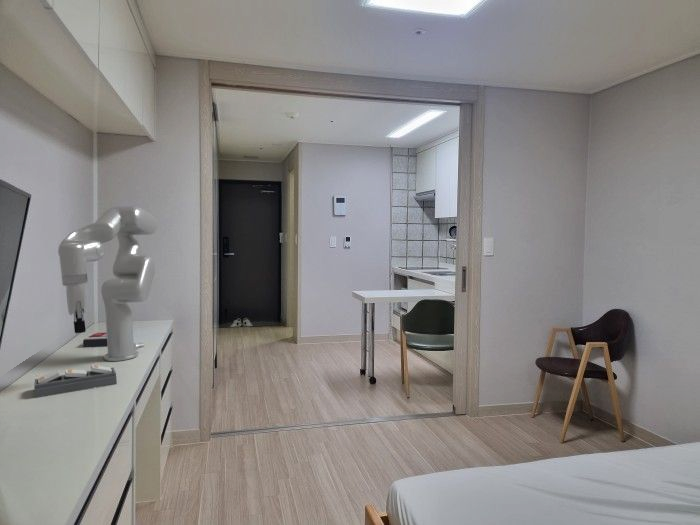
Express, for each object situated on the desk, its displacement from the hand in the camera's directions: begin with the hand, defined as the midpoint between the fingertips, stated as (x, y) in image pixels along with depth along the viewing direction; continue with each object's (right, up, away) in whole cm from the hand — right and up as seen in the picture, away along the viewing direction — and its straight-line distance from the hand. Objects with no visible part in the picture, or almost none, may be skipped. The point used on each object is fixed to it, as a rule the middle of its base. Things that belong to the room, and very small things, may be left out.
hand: (80, 332), depth 169 cm
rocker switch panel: (+3, -17, -7) cm, 18 cm away
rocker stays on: (-4, -13, -11) cm, 18 cm away
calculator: (-19, -13, +52) cm, 57 cm away
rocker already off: (+9, -12, -3) cm, 15 cm away
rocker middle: (+3, -13, -7) cm, 15 cm away
